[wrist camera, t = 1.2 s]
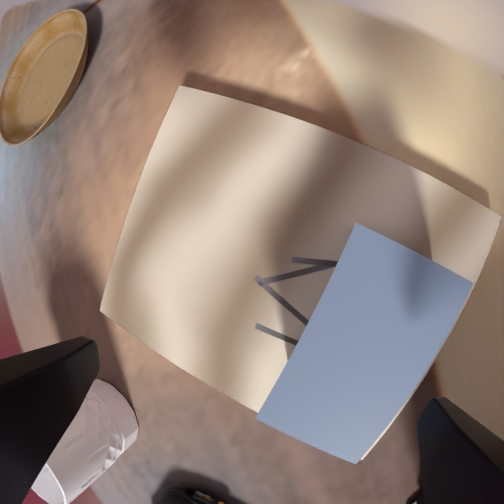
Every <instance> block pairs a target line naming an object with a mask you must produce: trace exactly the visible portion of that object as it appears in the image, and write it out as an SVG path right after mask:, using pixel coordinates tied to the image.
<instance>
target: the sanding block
mask: <svg viewBox="0 0 504 504" xmlns="http://www.w3.org/2000/svg"><path fill="white" fill-rule="evenodd" d="M472 285H473V283H472V282H471V281H469V280H467V279H465V278H464V277H462V276H460V275H458V274H456V273H454V272H453V271H451V270H449V269H447V268H445V267H443V266H441V265H440V264H438V263H436V262H434V261H432V260H430V259H428V258H426V257H424V256H422V255H421V254H419V253H417V252H415V251H413V250H411V249H409V248H407V247H405V246H403V245H401V244H399V243H397V242H395V241H393V240H391V239H389V238H387V237H385V236H383V235H381V234H379V233H377V232H375V231H373V230H370V229H368V228H366V227H364V226H362V225H360V224H358V223H355V226H354V228H353V230H352V233H351V235H350V237H349V239H348V241H347V244H346V246H345V248H344V250H343V252H342V255H341V257H340V259H339V261H338V263H337V265H336V267H335V269H334V272H333V274H332V276H331V278H330V280H329V282H328V284H327V286H326V288H325V290H324V292H323V294H322V296H321V298H320V300H319V302H318V304H317V306H316V308H315V310H314V312H313V314H312V316H311V318H310V320H309V322H308V324H307V326H306V328H305V330H304V332H303V334H302V335H301V337H300V339H299V341H298V343H297V345H296V347H295V349H294V350H293V352H292V354H291V356H290V358H289V360H288V362H287V363H286V365H285V367H284V369H283V371H282V372H281V374H280V376H279V378H278V380H277V381H276V383H275V385H274V387H273V388H272V390H271V392H270V394H269V395H268V397H267V399H266V400H265V402H264V404H263V406H262V407H261V409H260V411H259V412H258V414H257V416H256V417H255V419H257V420H259V421H261V422H263V423H265V424H267V425H269V426H271V427H273V428H275V429H277V430H279V431H281V432H283V433H285V434H287V435H289V436H291V437H293V438H296V439H298V440H300V441H302V442H304V443H306V444H309V445H311V446H313V447H315V448H318V449H320V450H322V451H325V452H327V453H329V454H332V455H334V456H336V457H339V458H341V459H344V460H346V461H349V462H351V463H354V464H357V462H358V461H359V460H360V459H361V458H362V457H363V456H364V454H365V453H366V452H367V451H368V450H369V448H370V447H371V446H372V445H373V444H374V442H375V441H376V440H377V439H378V437H379V436H380V435H381V434H382V432H383V431H384V430H385V429H386V427H387V426H388V425H389V423H390V422H391V421H392V419H393V418H394V417H395V415H396V414H397V413H398V411H399V410H400V409H401V407H402V406H403V404H404V403H405V402H406V400H407V399H408V397H409V396H410V394H411V393H412V392H413V390H414V389H415V387H416V386H417V384H418V383H419V381H420V380H421V378H422V376H423V375H424V373H425V372H426V370H427V369H428V367H429V365H430V364H431V362H432V360H433V359H434V357H435V356H436V354H437V352H438V350H439V349H440V347H441V345H442V344H443V342H444V340H445V338H446V336H447V335H448V333H449V331H450V329H451V327H452V326H453V324H454V322H455V320H456V318H457V316H458V314H459V312H460V310H461V308H462V306H463V304H464V302H465V300H466V298H467V296H468V294H469V292H470V290H471V287H472Z"/></svg>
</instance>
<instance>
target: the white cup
mask: <svg viewBox="0 0 504 504" xmlns="http://www.w3.org/2000/svg"><path fill="white" fill-rule="evenodd" d="M138 429H139V426H138V423H137V420H136V416H135V413H134V411H133V409H132V408H131V406H130V405H129V403H128V402H127V400H126V399H125V397H124V396H123V395H122V394H121V393H120V392H119V391H117V390H116V389H115V388H114V387H113V386H112V385H111V384H108V383H106V382H104V381H102V380H100V379H95V380H94V382H93V384H92V385H91V387H90V389H89V391H88V393H87V395H86V397H85V399H84V401H83V403H82V405H81V407H80V409H79V411H78V413H77V414H76V416H75V418H74V419H73V421H72V422H71V424H70V425H69V427H68V429H67V430H66V432H65V433H64V435H63V436H62V438H61V440H60V441H59V443H58V444H57V446H56V447H55V449H54V451H53V452H52V454H51V455H50V457H49V459H48V460H47V462H46V464H45V465H44V467H43V468H42V470H41V472H40V473H39V475H38V477H37V478H36V480H35V482H34V483H33V485H32V487H31V488H32V489H33V490H34V491H35V492H36V493H37V494H38V495H39V496H40V497H41V498H42V499H44V500H45V501H46V502H48V503H50V504H69V503H71V502H72V501H73V500H74V499H75V498H76V497H77V496H78V495H80V494H81V493H82V492H83V491H84V490H85V489H86V488H87V487H89V486H90V485H91V484H92V483H93V482H94V481H95V480H96V479H98V478H99V477H100V476H101V475H102V474H103V473H104V472H105V471H106V470H107V469H108V468H109V467H110V466H111V465H112V464H113V463H114V462H115V461H116V460H117V459H118V457H119V456H120V455H121V454H122V453H123V452H124V451H125V450H126V449H127V448H128V447H129V446H130V445H131V444H132V443H133V442H134V441H136V439H137V435H138Z"/></svg>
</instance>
